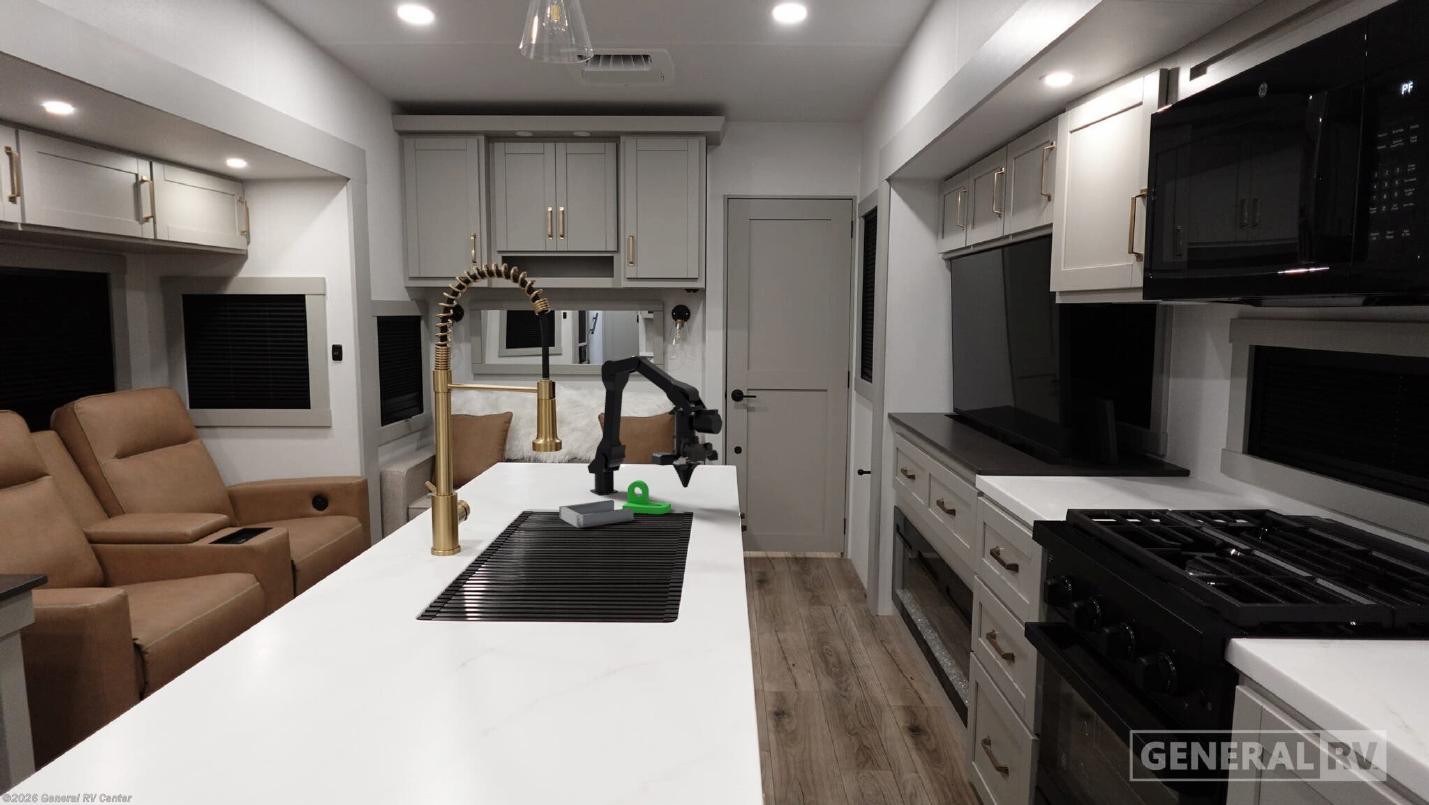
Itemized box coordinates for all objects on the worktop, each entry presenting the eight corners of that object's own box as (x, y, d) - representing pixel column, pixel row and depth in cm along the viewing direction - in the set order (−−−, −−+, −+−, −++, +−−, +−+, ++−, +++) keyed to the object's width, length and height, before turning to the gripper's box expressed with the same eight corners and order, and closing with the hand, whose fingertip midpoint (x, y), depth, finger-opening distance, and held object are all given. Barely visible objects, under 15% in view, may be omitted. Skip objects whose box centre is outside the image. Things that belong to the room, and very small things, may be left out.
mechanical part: (622, 513, 202) (622, 483, 201) (629, 508, 207) (629, 479, 207) (664, 515, 199) (664, 486, 198) (671, 510, 205) (671, 481, 204)
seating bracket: (559, 517, 194) (559, 506, 194) (612, 510, 203) (612, 500, 203) (578, 528, 184) (578, 516, 184) (633, 520, 193) (633, 508, 192)
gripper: (671, 437, 195) (671, 496, 196) (729, 432, 205) (729, 488, 207) (650, 432, 204) (650, 489, 205) (707, 428, 214) (707, 482, 216)
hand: (685, 487), depth 208 cm, fingers closed
